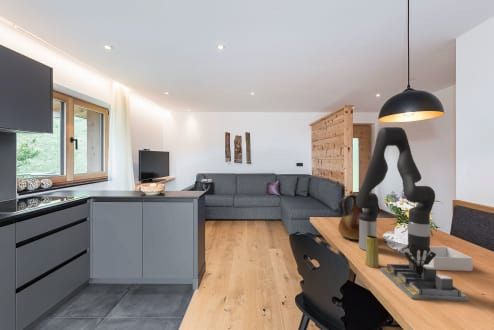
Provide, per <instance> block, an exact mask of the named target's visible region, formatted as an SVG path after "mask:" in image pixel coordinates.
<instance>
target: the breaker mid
mask: <svg viewBox="0 0 494 330" xmlns="http://www.w3.org/2000/svg"><path fill="white" fill-rule="evenodd" d="M436 275H437V270H436V268H434V267H433V266H431V265H424V266H423V273H422V274H421V278H433V279H436Z"/></svg>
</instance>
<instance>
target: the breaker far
mask: <svg viewBox="0 0 494 330" xmlns="http://www.w3.org/2000/svg"><path fill="white" fill-rule="evenodd" d="M412 259H413V258H412ZM408 264H409V269H414V264H412V263H411V262H409V261H408Z"/></svg>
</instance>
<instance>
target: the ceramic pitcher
mask: <svg viewBox="0 0 494 330" xmlns="http://www.w3.org/2000/svg"><path fill="white" fill-rule="evenodd" d="M357 195H358V194H354V193H349V194H347V195H346V196H344V197H343V198H342V200H341V208H342V211H343V216H342V217H341V218H340V220H339V222H338V233H339V234H340V235H341V236H343V237H345V238H347V239H350V240H354V241H356V240H357V241H359V215H360V214H361V213H364V209H363V208H359V207H358V206H357V205H356V197H357ZM350 198H352V200H353V203H352V204H353V205H352V207H351V210H349V211H347V208H346V202H347V200H348V199H350Z"/></svg>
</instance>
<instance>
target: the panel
mask: <svg viewBox="0 0 494 330" xmlns="http://www.w3.org/2000/svg"><path fill="white" fill-rule="evenodd" d="M380 272H381V273H382V274H383V275H385V276H386V277H387V279H389V280H390V281H391V282H392V283H393V284H395V286H397V287H398V289H400V290H401V291H402V292H403V293H405V295H406V296H408V298H410V299H411V300H429V301H430V300H433V301H463V302H468V296H467V295H465V294H464V293H463V292H462V290H461V289H459V288H457V287H456V286H454V285H453V290H451V289H436V279H433V278H421V274H417V273H415V271H414V269H409V263H408V264H407V263H406V264H405V263H404V264H401V263H400V264H399V263H387V264H386V267H380Z"/></svg>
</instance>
